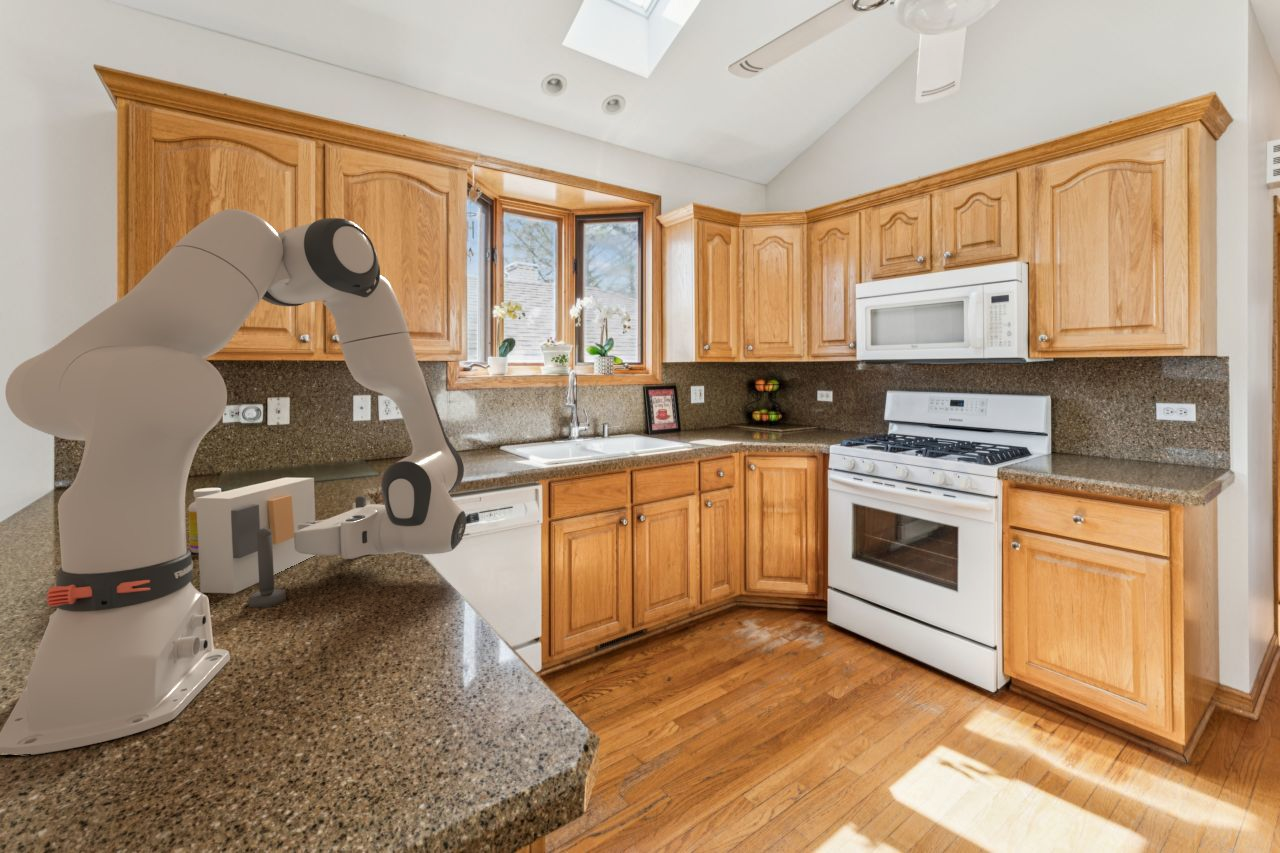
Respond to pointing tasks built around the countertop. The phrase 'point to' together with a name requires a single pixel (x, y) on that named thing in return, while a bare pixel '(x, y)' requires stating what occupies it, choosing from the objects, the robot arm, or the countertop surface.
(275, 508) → the orange paddle
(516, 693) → the countertop surface
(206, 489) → the supplement bottle
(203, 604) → the robot arm
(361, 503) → the post
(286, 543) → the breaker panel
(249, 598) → the post
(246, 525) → the black paddle
